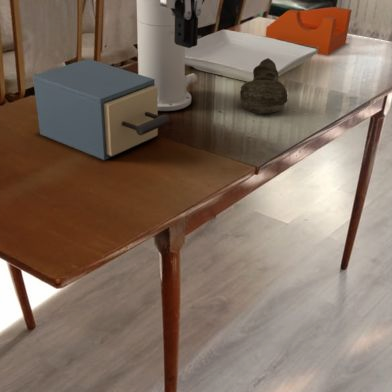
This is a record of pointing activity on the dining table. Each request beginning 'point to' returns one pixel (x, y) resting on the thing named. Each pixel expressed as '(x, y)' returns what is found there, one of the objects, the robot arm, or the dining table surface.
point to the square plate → (244, 54)
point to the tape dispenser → (313, 28)
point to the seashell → (264, 90)
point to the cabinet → (82, 102)
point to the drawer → (132, 119)
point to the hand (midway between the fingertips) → (185, 44)
